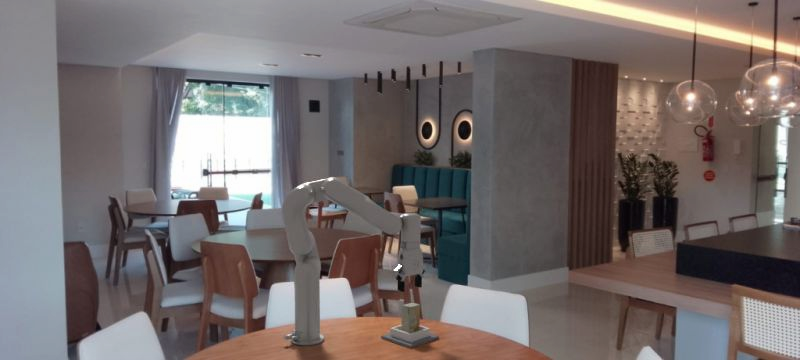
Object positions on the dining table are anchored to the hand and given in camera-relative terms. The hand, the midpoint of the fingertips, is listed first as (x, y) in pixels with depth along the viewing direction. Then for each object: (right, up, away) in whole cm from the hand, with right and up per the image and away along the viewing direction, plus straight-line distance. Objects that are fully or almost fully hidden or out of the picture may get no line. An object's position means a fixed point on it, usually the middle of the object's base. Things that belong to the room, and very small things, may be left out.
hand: (409, 288), depth 224 cm
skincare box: (0, -19, +1) cm, 19 cm away
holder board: (0, -20, +1) cm, 20 cm away
